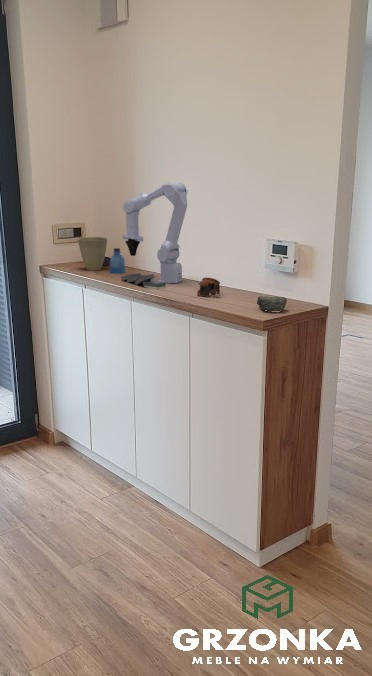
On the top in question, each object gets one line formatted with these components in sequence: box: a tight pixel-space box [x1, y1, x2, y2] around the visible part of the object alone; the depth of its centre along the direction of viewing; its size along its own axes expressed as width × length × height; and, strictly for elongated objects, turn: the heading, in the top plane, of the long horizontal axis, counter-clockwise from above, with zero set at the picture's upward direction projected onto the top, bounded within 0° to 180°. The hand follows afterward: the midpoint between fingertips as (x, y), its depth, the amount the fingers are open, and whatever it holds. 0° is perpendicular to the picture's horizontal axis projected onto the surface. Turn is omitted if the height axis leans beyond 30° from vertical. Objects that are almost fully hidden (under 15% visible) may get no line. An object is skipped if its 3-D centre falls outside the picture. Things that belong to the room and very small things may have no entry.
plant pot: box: [77, 236, 108, 271], centre depth 303 cm, size 15×15×16 cm
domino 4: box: [142, 279, 167, 288], centre depth 257 cm, size 2×5×9 cm
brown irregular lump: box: [196, 277, 221, 298], centre depth 239 cm, size 12×10×8 cm
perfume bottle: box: [109, 247, 126, 275], centre depth 294 cm, size 6×6×12 cm
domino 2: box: [126, 274, 146, 283], centre depth 266 cm, size 2×5×9 cm
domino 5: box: [143, 285, 166, 290], centre depth 257 cm, size 2×5×9 cm
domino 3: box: [134, 273, 155, 286], centre depth 260 cm, size 2×5×9 cm
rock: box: [256, 295, 288, 311], centre depth 214 cm, size 12×10×5 cm
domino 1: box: [121, 272, 142, 282], centre depth 270 cm, size 2×5×9 cm
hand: (133, 255), depth 279 cm, fingers closed
